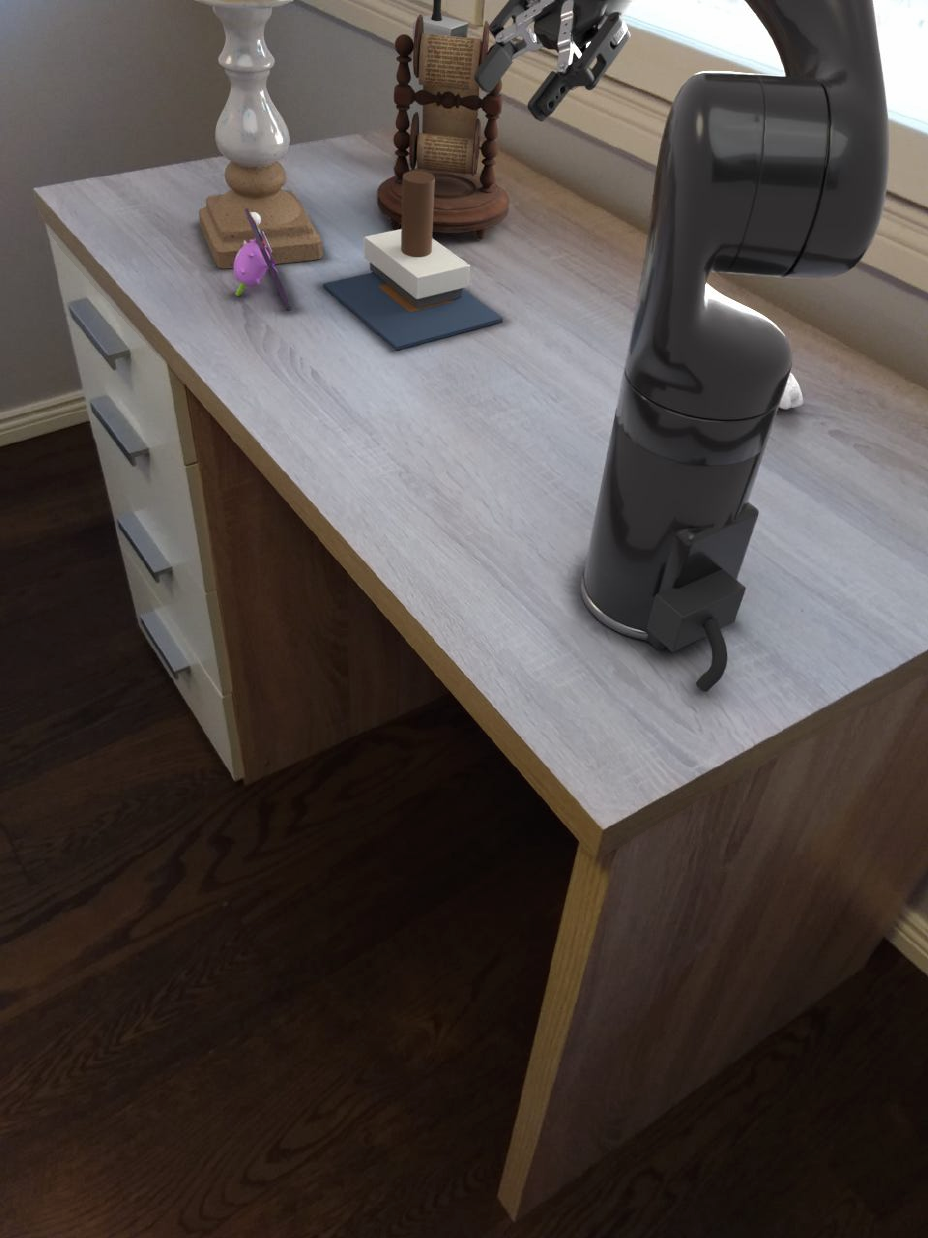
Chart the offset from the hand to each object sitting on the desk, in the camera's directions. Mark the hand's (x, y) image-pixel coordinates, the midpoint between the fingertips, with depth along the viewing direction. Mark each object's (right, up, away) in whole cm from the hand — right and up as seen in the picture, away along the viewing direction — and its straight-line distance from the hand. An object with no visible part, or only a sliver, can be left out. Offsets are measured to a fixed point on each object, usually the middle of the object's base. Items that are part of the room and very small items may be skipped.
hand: (506, 99), depth 95 cm
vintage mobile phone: (-8, +6, +29) cm, 31 cm away
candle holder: (-26, -9, +13) cm, 30 cm away
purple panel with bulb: (-24, -16, +5) cm, 29 cm away
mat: (-9, -17, +5) cm, 20 cm away
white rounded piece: (+24, -28, -3) cm, 37 cm away
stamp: (-9, -15, +7) cm, 19 cm away
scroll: (-6, -3, +20) cm, 22 cm away
